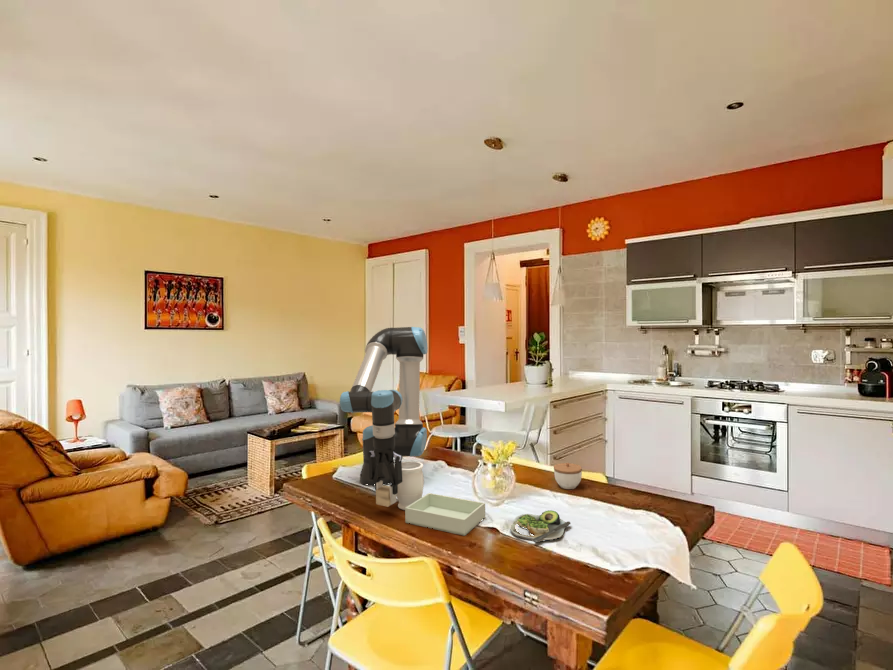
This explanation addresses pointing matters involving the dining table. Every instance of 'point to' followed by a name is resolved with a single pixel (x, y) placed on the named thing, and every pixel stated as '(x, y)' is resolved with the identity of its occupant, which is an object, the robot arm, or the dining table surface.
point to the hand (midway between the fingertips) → (386, 501)
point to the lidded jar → (568, 475)
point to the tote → (445, 513)
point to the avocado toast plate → (540, 526)
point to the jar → (410, 484)
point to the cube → (383, 496)
